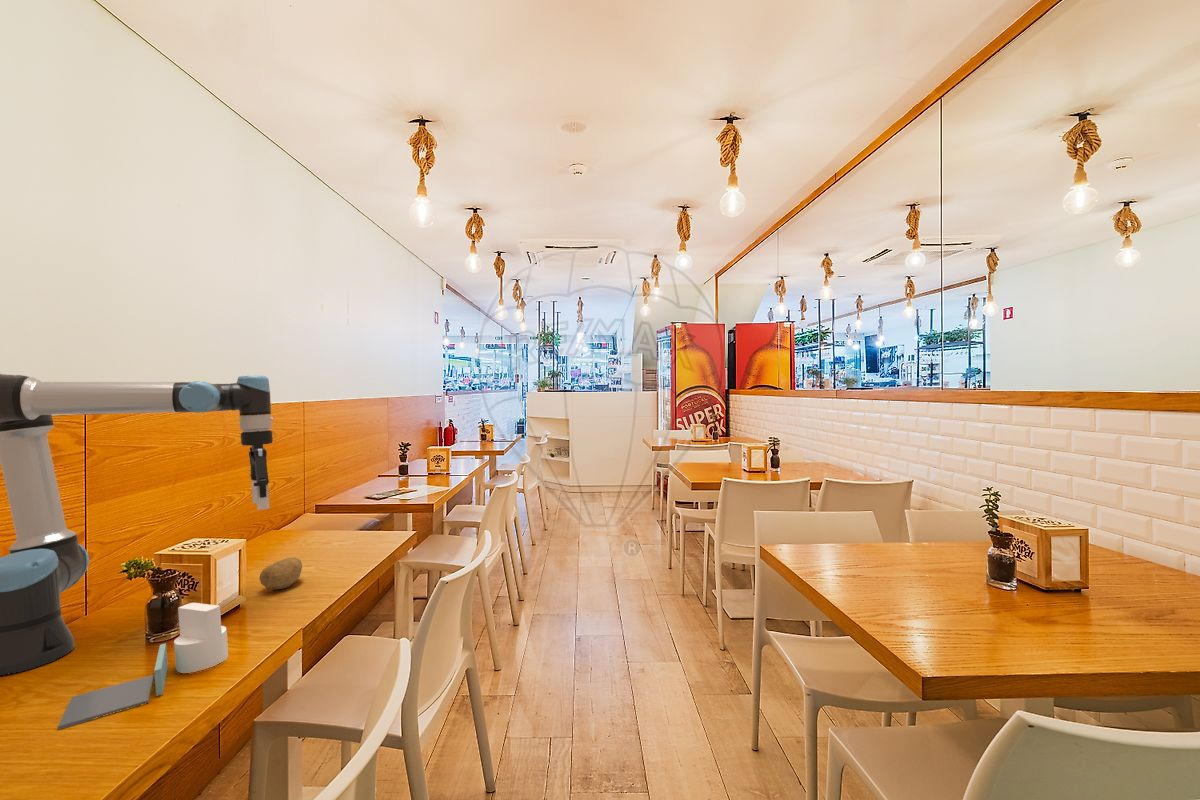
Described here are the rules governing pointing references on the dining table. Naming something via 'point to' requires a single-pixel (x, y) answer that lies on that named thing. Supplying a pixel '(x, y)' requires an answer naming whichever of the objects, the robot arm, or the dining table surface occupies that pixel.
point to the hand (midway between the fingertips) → (260, 505)
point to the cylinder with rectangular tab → (200, 638)
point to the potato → (281, 573)
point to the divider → (161, 669)
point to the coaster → (106, 701)
